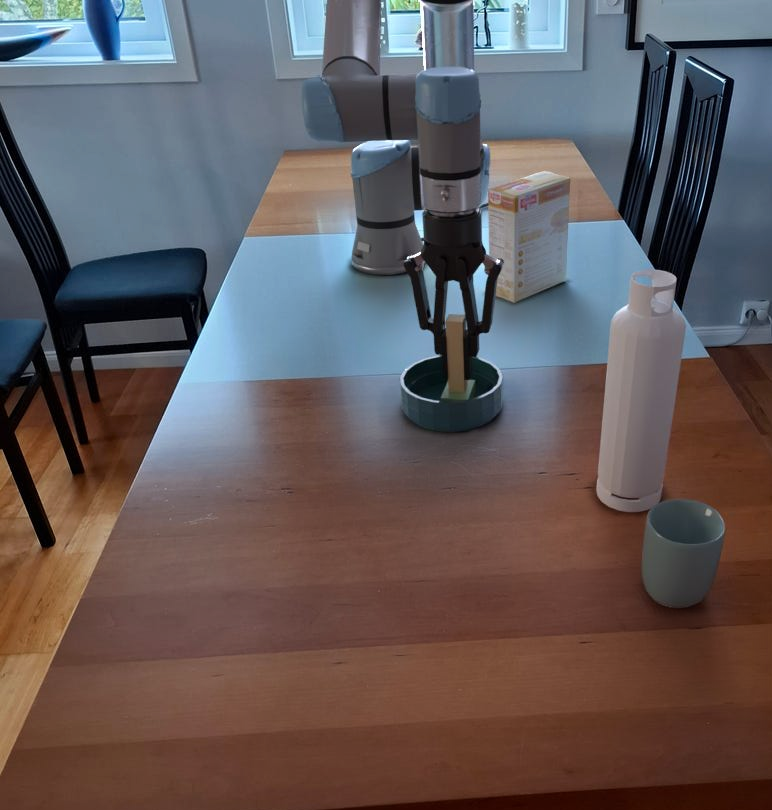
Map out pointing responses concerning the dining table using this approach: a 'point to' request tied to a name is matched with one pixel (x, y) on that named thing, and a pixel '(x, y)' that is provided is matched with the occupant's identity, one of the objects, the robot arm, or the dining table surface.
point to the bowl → (428, 410)
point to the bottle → (640, 394)
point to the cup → (681, 551)
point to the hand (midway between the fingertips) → (457, 374)
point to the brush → (456, 361)
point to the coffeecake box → (529, 233)
